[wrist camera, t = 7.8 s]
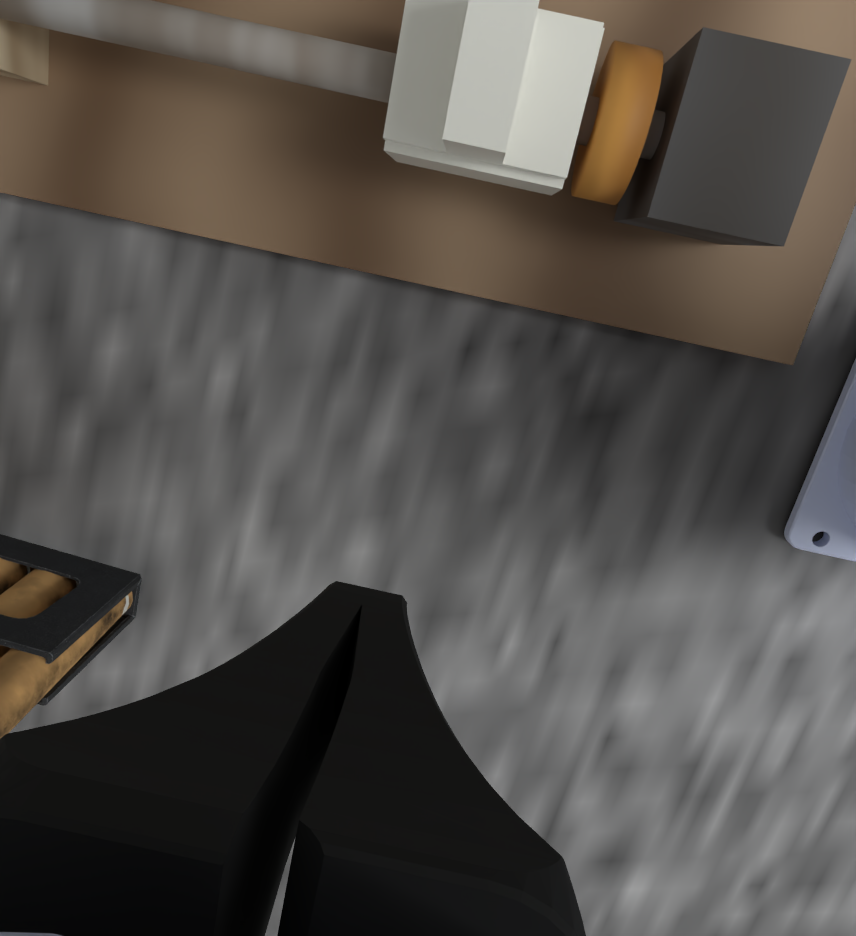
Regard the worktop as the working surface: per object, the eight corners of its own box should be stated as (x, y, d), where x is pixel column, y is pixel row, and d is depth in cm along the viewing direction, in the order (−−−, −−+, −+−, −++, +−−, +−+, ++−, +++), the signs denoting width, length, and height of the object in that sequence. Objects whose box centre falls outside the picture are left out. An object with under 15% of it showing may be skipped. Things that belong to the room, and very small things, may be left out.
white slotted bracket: (586, 53, 16) (628, -20, 12) (551, 195, 17) (576, 180, 13) (421, 17, 16) (398, -69, 12) (396, 161, 17) (366, 134, 13)
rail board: (909, 13, 17) (1074, -73, 12) (778, 359, 20) (870, 397, 15) (-12, -186, 17) (-201, -348, 13) (-9, 187, 20) (-161, 172, 16)
